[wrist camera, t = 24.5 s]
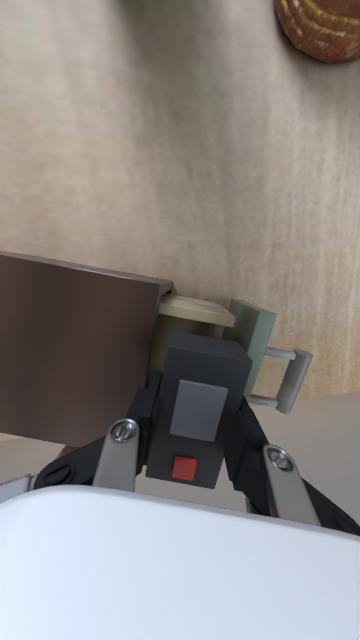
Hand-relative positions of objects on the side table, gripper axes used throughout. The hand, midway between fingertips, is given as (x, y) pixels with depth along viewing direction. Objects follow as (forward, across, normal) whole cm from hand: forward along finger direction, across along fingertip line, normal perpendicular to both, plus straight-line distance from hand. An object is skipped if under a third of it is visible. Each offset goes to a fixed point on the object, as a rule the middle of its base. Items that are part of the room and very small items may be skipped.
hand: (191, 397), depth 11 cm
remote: (0, 0, 0) cm, 0 cm away
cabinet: (+10, +11, 0) cm, 15 cm away
